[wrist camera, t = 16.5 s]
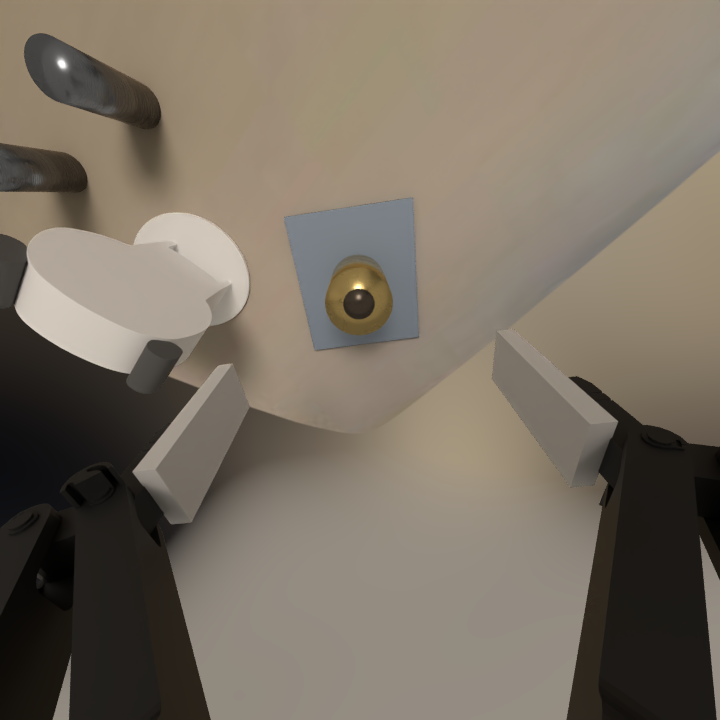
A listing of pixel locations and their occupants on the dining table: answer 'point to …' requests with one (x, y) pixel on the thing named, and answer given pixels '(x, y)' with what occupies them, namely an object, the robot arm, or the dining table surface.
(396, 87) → the dining table surface
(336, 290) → the gold metal cylinder
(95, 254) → the panda figurine
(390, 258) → the slate board
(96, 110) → the spacer posts
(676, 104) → the dining table surface
